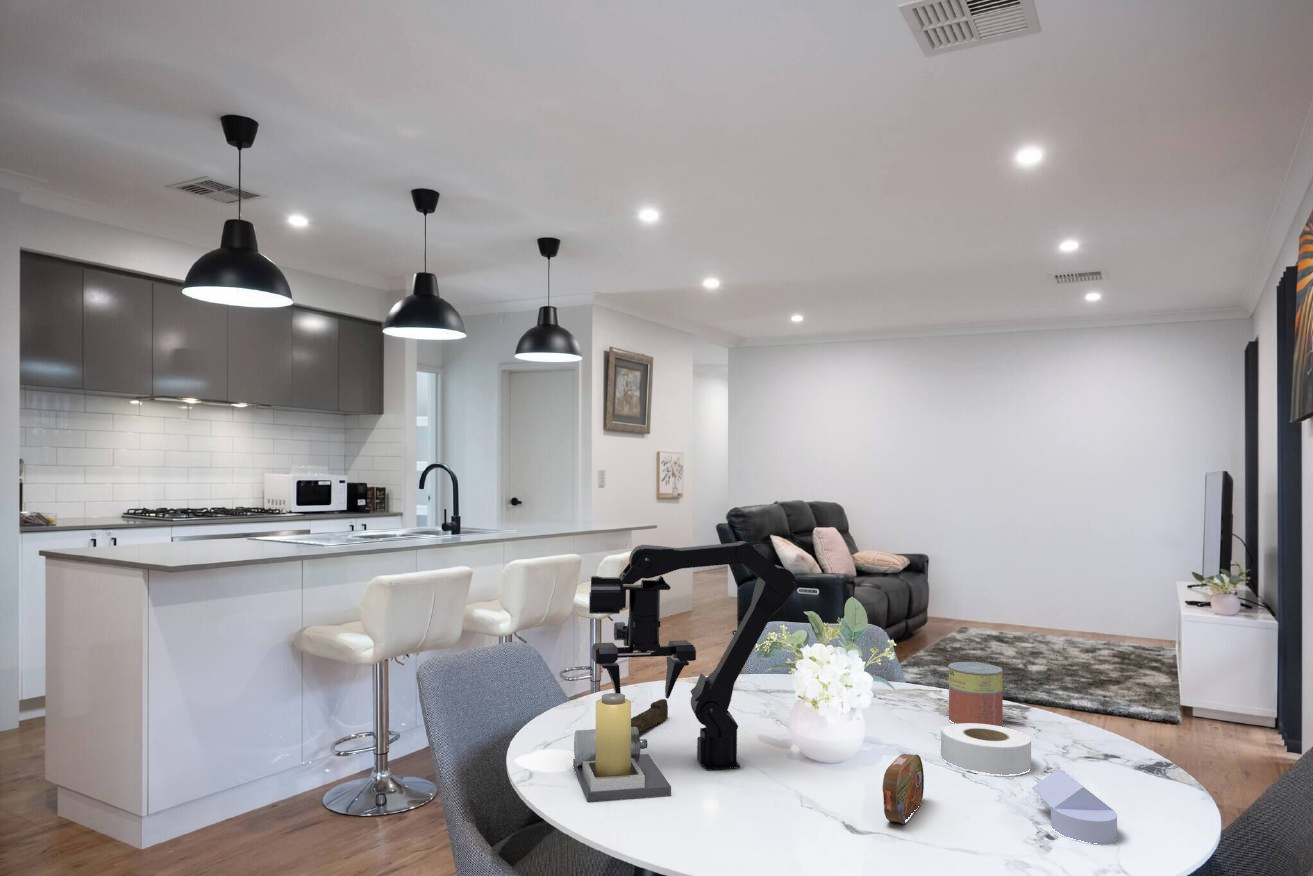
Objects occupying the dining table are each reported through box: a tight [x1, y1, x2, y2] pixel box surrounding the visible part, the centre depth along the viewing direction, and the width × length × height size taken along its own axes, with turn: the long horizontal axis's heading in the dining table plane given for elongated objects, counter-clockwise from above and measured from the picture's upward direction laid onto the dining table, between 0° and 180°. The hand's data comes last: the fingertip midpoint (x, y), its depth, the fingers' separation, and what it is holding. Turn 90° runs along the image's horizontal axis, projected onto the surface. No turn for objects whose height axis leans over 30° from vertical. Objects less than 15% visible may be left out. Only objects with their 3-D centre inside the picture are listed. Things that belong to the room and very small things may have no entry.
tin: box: [882, 753, 925, 825], centre depth 136 cm, size 15×3×8 cm, turn 148°
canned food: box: [947, 661, 1004, 726], centre depth 187 cm, size 11×11×12 cm
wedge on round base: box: [1030, 767, 1118, 845], centre depth 132 cm, size 9×7×13 cm
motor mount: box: [572, 727, 672, 803], centre depth 148 cm, size 14×17×8 cm
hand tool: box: [631, 698, 669, 734], centre depth 180 cm, size 19×4×5 cm, turn 151°
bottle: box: [595, 692, 632, 778], centre depth 145 cm, size 6×6×14 cm
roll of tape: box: [940, 723, 1032, 775], centre depth 161 cm, size 16×16×6 cm
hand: (642, 699), depth 157 cm, fingers open, 9 cm apart
